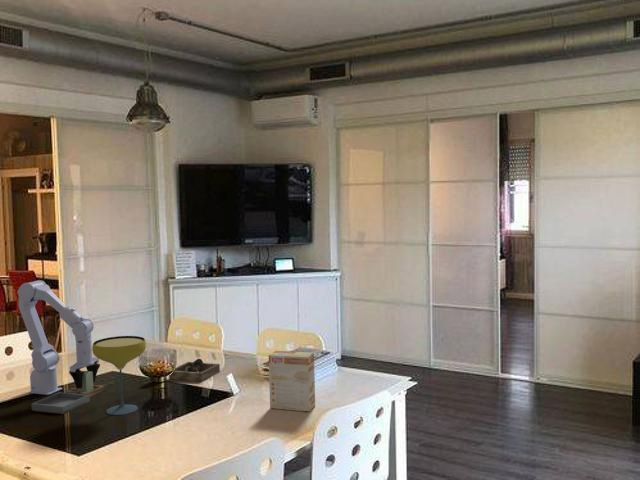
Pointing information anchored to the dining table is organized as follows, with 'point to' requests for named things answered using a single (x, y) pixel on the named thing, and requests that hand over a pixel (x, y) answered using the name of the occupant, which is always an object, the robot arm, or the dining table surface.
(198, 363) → the eagle figurine
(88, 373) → the green elongated block
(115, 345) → the cocktail glass
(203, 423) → the dining table surface
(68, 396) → the tray
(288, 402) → the coffeecake box
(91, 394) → the square brown frame
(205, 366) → the square serving dish
